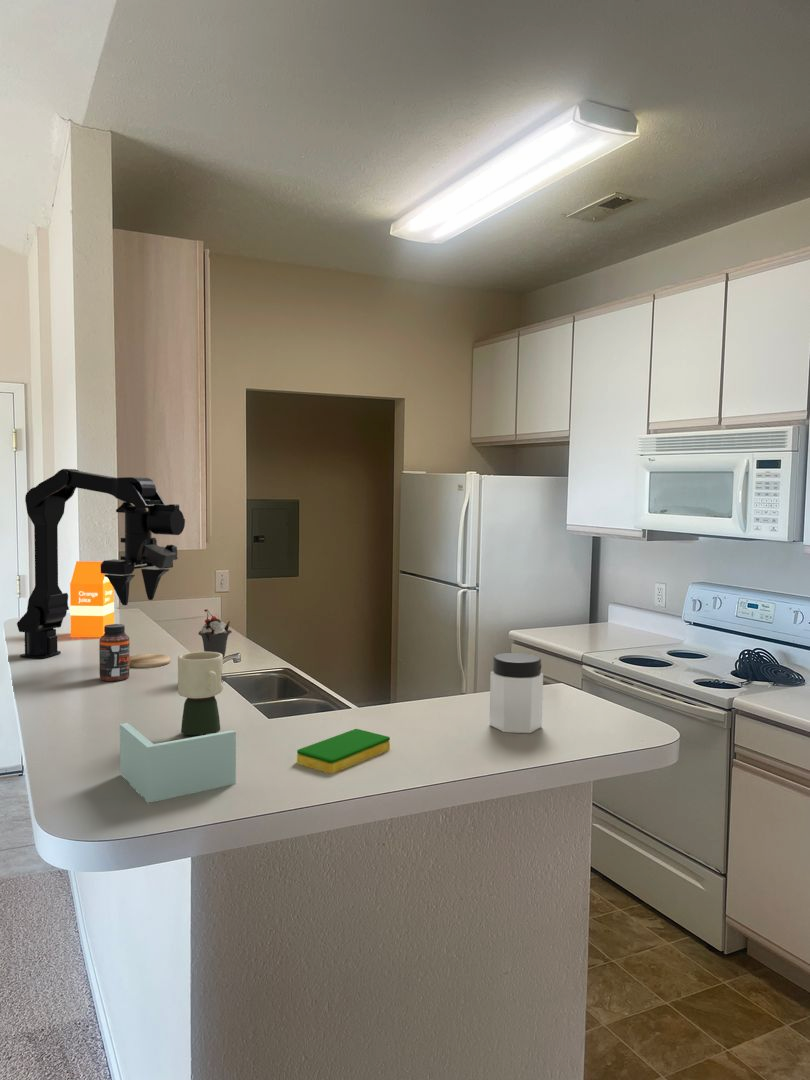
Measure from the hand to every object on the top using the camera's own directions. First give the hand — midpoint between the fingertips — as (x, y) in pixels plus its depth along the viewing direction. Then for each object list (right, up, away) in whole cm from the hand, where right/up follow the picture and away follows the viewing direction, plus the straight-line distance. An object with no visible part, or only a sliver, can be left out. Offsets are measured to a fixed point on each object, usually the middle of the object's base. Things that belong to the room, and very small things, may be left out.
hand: (138, 602), depth 179 cm
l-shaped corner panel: (+29, -20, -69) cm, 77 cm away
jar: (+79, -18, -42) cm, 92 cm away
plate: (+1, -14, +2) cm, 14 cm away
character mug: (+27, -18, -49) cm, 59 cm away
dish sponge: (+51, -19, -59) cm, 80 cm away
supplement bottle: (-1, -15, -13) cm, 20 cm away
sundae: (+20, -15, -12) cm, 28 cm away
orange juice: (-24, -12, +35) cm, 44 cm away
